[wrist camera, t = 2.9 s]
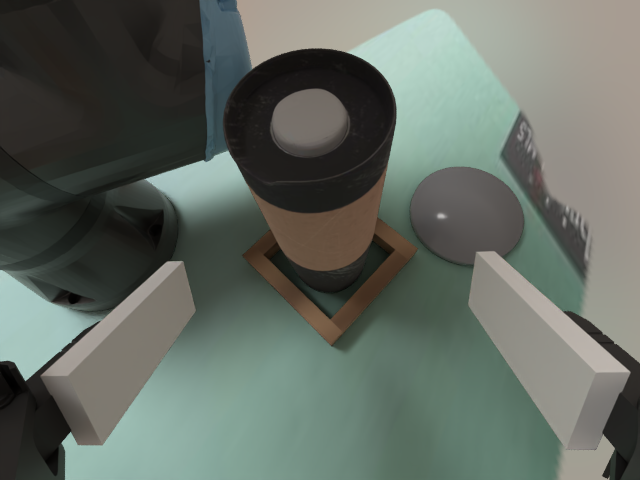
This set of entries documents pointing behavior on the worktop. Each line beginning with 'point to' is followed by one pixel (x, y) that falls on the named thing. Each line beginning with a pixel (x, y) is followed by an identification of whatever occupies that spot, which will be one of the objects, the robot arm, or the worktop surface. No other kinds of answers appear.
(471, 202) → the slate coaster
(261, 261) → the walnut frame
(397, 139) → the worktop surface
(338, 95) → the travel mug
